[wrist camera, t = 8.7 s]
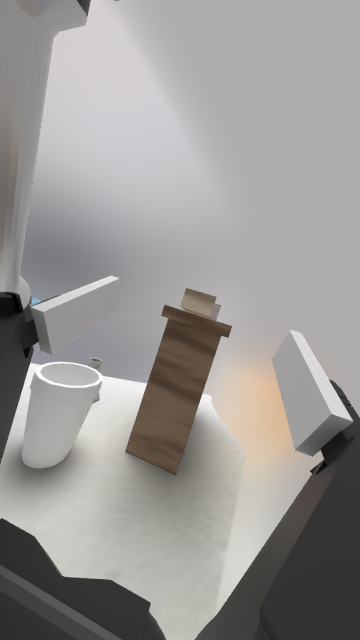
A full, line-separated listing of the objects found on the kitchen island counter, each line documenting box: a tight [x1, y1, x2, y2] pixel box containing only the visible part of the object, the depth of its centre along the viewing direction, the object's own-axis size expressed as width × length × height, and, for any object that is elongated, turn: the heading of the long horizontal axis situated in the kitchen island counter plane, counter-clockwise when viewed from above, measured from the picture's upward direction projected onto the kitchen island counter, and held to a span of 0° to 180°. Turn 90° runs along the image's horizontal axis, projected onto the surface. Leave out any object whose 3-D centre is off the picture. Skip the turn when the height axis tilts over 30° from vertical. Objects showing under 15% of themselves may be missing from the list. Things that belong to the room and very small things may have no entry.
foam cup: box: [21, 362, 103, 469], centre depth 29 cm, size 10×9×13 cm
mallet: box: [181, 288, 221, 321], centre depth 40 cm, size 33×8×5 cm, turn 173°
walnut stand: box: [125, 305, 232, 474], centre depth 45 cm, size 28×12×28 cm, turn 173°
